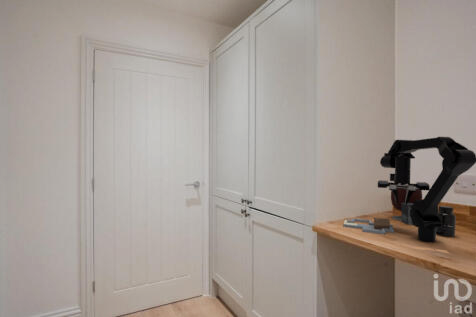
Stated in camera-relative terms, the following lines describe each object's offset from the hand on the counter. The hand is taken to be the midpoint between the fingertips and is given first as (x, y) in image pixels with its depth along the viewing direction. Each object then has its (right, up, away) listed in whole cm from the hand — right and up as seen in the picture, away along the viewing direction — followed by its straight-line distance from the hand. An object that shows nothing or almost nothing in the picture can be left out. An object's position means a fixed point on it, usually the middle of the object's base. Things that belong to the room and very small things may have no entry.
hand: (401, 205), depth 116 cm
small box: (+15, -12, +13) cm, 23 cm away
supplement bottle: (+17, -13, -2) cm, 21 cm away
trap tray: (-11, -12, +6) cm, 17 cm away
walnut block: (-7, -11, +3) cm, 13 cm away
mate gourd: (+18, -12, +25) cm, 33 cm away
